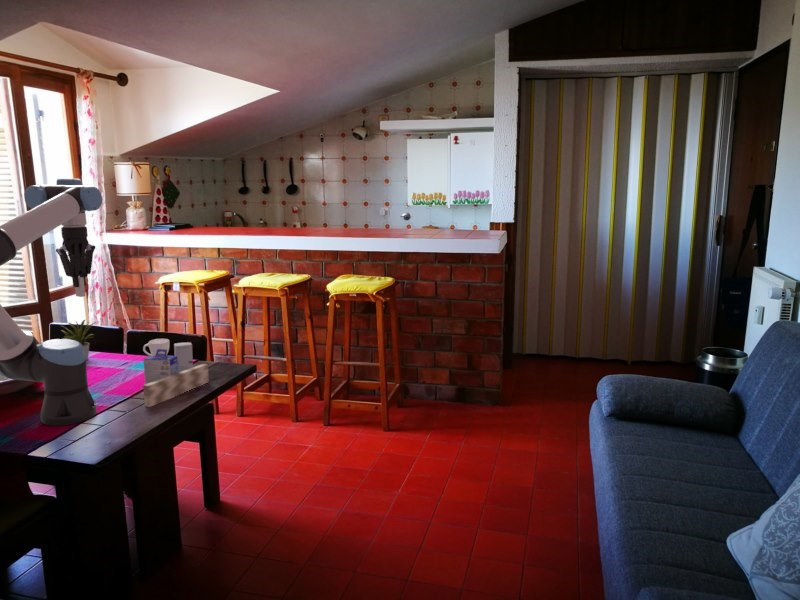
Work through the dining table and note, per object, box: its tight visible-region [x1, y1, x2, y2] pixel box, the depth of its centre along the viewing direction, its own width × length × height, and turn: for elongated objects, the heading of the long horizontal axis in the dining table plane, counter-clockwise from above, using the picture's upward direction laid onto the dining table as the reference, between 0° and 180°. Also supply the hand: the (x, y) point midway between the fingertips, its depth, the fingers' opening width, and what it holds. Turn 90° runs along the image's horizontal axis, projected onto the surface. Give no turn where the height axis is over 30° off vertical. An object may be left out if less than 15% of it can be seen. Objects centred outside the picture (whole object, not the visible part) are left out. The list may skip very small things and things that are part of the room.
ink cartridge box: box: [143, 349, 178, 385], centre depth 208 cm, size 10×6×14 cm, turn 82°
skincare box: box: [173, 341, 194, 373], centre depth 224 cm, size 6×4×12 cm
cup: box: [142, 338, 170, 356], centre depth 247 cm, size 8×10×7 cm
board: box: [142, 363, 210, 408], centre depth 206 cm, size 26×2×7 cm, turn 152°
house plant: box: [60, 319, 101, 360], centre depth 243 cm, size 14×14×16 cm
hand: (80, 296), depth 206 cm, fingers closed
